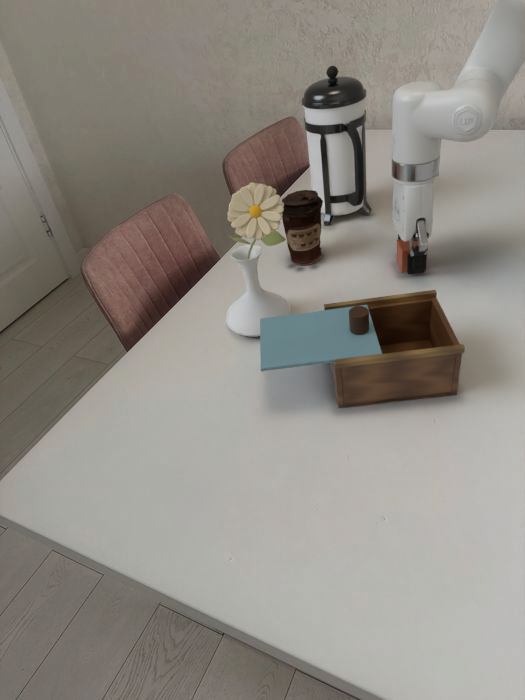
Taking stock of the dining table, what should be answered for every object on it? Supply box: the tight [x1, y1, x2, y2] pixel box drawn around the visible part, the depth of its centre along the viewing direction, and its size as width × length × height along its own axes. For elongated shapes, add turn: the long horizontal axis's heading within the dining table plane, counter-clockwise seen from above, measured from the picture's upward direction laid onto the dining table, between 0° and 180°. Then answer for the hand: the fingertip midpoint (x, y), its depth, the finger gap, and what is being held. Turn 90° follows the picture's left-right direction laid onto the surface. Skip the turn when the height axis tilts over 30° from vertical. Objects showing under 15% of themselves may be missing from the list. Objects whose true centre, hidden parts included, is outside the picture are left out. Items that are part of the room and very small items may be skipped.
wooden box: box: [323, 289, 466, 409], centre depth 70 cm, size 16×13×9 cm
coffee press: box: [301, 65, 373, 226], centre depth 104 cm, size 17×16×30 cm
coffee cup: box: [281, 189, 323, 266], centre depth 97 cm, size 9×8×13 cm
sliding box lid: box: [259, 305, 382, 372], centre depth 67 cm, size 16×11×4 cm
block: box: [395, 239, 429, 274], centre depth 92 cm, size 4×4×4 cm
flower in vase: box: [225, 181, 292, 338], centre depth 78 cm, size 13×11×25 cm
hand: (411, 261), depth 93 cm, fingers open, 6 cm apart
